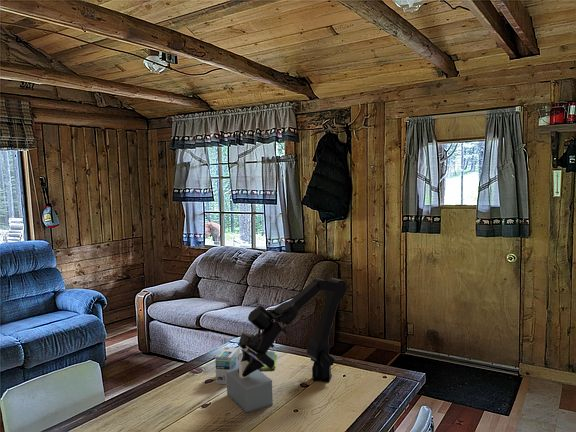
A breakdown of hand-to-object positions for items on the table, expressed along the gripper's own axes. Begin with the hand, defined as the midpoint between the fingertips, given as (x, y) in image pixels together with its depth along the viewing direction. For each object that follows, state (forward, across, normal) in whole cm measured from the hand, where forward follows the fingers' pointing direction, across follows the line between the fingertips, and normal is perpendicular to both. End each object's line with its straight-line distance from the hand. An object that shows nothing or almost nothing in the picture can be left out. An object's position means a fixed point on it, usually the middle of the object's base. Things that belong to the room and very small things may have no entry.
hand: (240, 374), depth 158 cm
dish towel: (-4, -30, +20) cm, 36 cm away
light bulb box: (+4, -21, +10) cm, 24 cm away
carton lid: (-1, 0, +3) cm, 4 cm away
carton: (+5, 0, +9) cm, 11 cm away
